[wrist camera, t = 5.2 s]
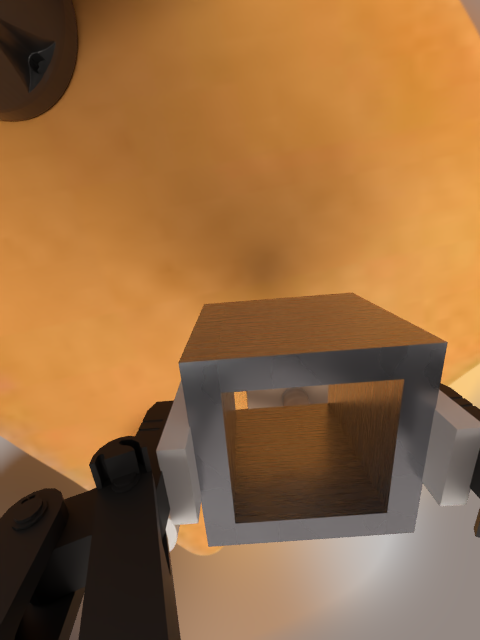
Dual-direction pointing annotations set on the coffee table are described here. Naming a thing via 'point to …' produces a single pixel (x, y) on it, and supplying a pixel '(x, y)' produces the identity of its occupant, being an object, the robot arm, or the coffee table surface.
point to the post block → (287, 396)
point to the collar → (310, 418)
